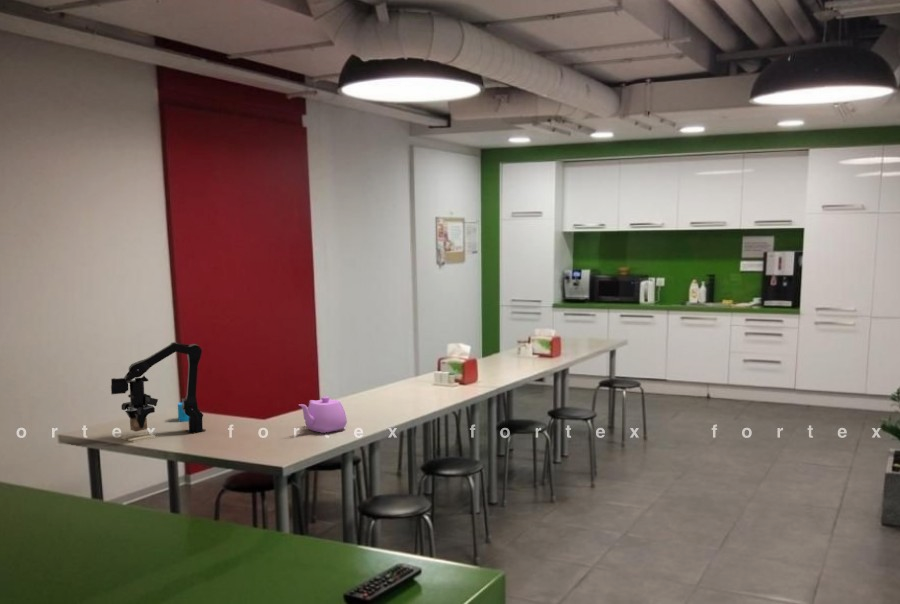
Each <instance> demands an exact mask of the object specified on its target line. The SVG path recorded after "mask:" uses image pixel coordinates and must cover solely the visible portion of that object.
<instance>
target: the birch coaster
mask: <svg viewBox="0 0 900 604" xmlns="http://www.w3.org/2000/svg"><path fill="white" fill-rule="evenodd" d="M155 438H156V435H155V434H150V433H148V432H140V433H136V434H131V435H126V436H122V438H121V439H122V440H124V441H128V442H131V443H137V442H142V441H147V440H151V439H155Z"/></svg>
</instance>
